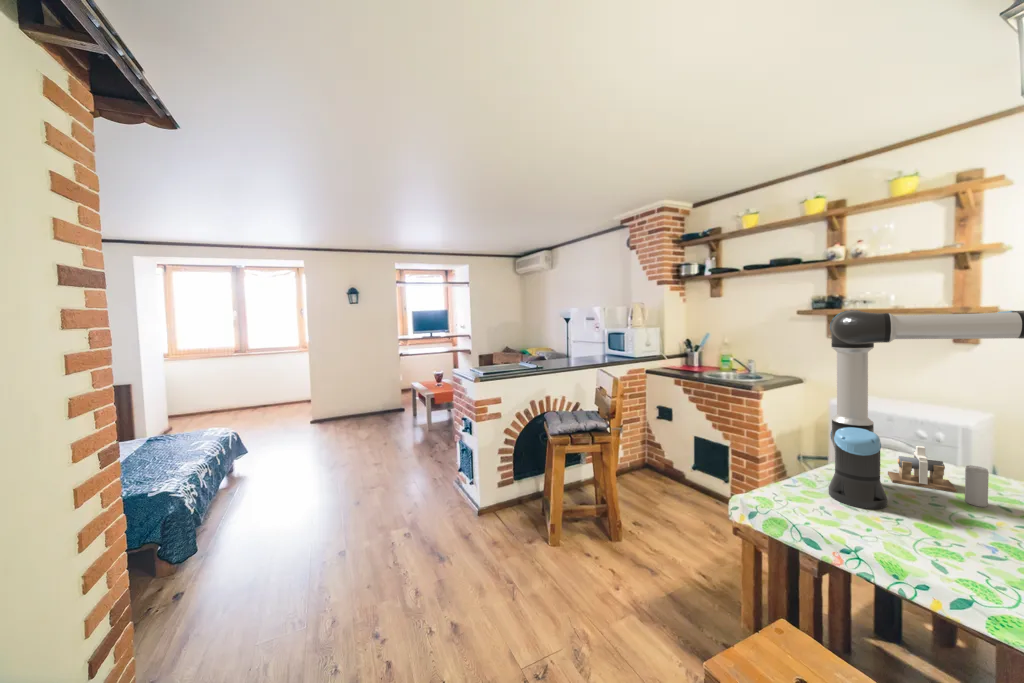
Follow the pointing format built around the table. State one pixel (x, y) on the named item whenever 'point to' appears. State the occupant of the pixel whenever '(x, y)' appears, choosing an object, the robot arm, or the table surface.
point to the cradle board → (906, 478)
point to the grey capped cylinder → (916, 462)
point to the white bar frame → (921, 465)
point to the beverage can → (976, 485)
